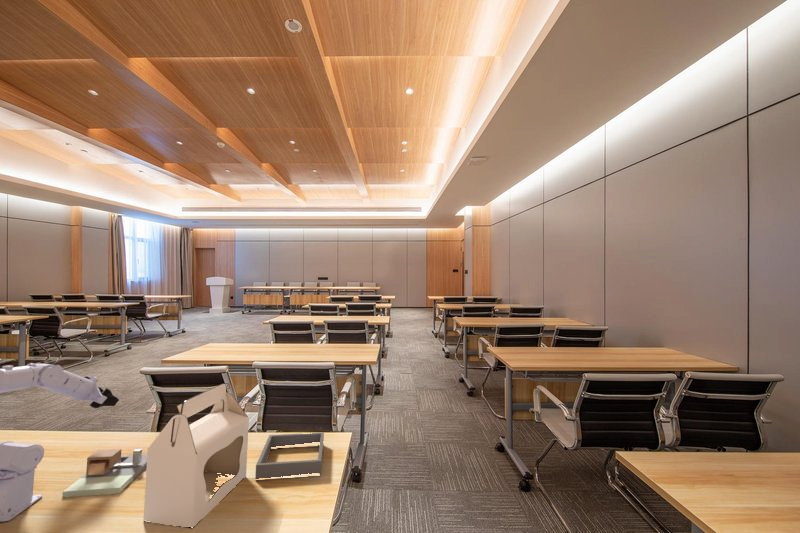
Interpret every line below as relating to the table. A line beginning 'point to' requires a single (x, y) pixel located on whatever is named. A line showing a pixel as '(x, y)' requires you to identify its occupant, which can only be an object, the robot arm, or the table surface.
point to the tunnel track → (110, 481)
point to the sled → (103, 466)
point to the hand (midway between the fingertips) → (108, 397)
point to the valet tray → (291, 466)
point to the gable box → (196, 459)
